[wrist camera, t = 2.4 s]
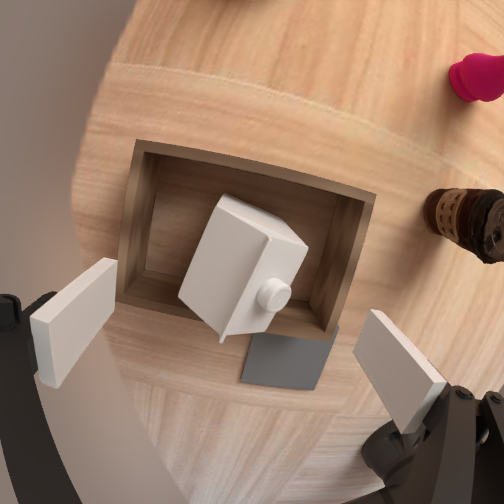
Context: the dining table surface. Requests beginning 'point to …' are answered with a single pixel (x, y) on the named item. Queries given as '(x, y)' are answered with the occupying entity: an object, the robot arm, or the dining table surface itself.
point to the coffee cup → (469, 220)
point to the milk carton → (242, 268)
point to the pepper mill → (478, 77)
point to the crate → (167, 287)
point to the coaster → (285, 360)
